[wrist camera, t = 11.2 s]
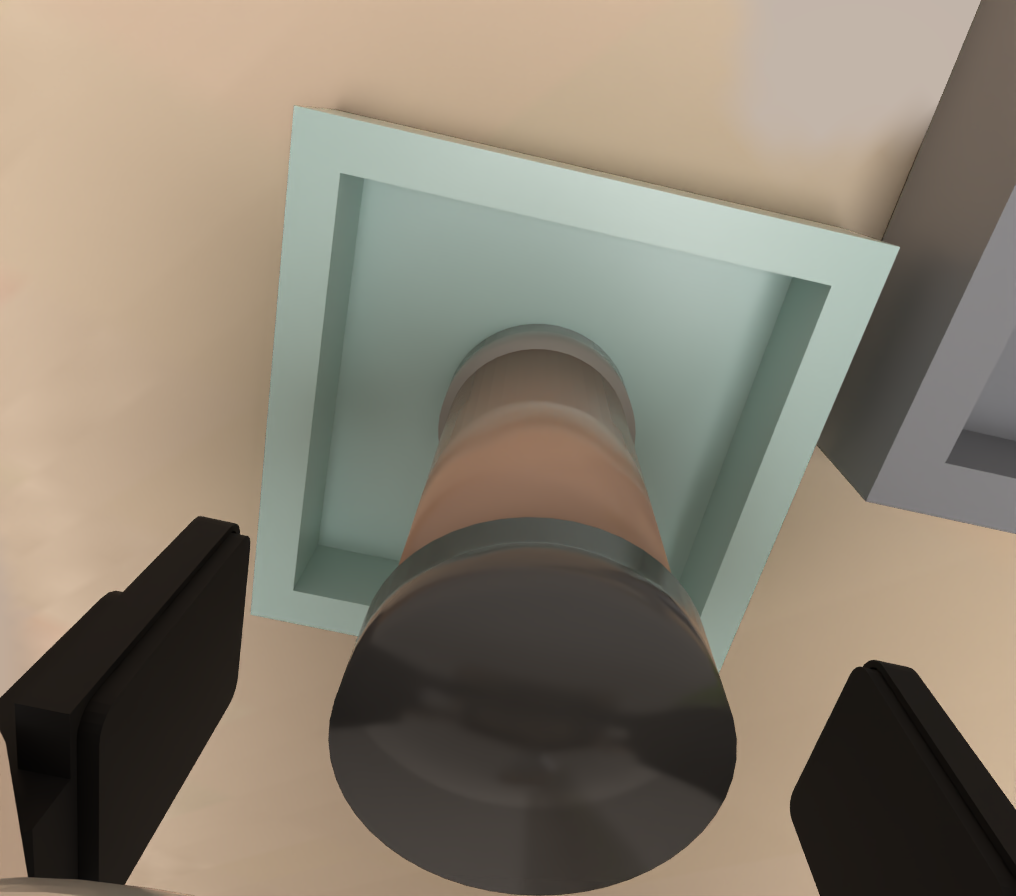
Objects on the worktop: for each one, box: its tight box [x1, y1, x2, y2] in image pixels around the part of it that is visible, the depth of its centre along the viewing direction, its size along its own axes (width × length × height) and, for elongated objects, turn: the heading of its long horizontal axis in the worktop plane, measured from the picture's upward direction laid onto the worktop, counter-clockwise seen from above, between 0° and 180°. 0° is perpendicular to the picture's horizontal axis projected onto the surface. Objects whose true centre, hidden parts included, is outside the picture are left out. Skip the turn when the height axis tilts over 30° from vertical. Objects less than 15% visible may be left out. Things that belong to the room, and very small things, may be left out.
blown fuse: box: [328, 324, 737, 896], centre depth 13 cm, size 5×5×11 cm
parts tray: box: [251, 105, 900, 673], centre depth 18 cm, size 12×12×3 cm
